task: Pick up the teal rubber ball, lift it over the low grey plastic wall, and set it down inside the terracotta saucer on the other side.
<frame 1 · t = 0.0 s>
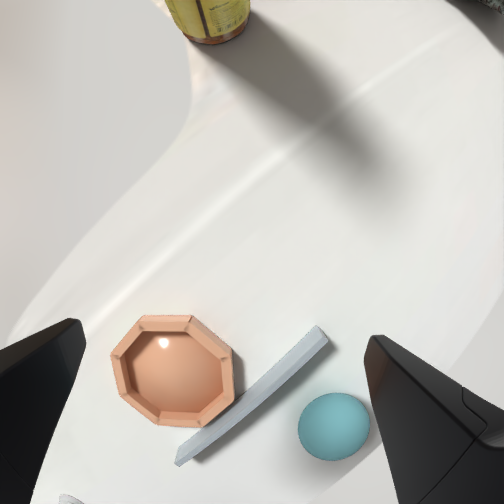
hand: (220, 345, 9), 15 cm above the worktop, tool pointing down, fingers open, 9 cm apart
low wall: (242, 398, 26), on the worktop
sauce bottle: (211, 21, 22), on the worktop
ball: (334, 427, 23), point 3 cm above the worktop
saucer: (174, 370, 26), on the worktop
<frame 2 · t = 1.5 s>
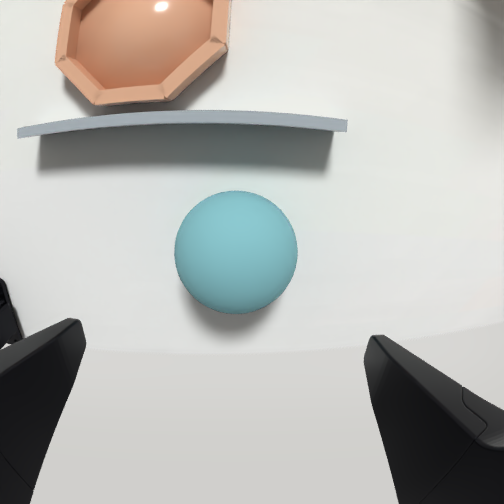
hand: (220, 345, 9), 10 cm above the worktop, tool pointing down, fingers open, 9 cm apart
low wall: (170, 118, 16), on the worktop
ball: (235, 252, 16), point 3 cm above the worktop
saucer: (143, 23, 14), on the worktop
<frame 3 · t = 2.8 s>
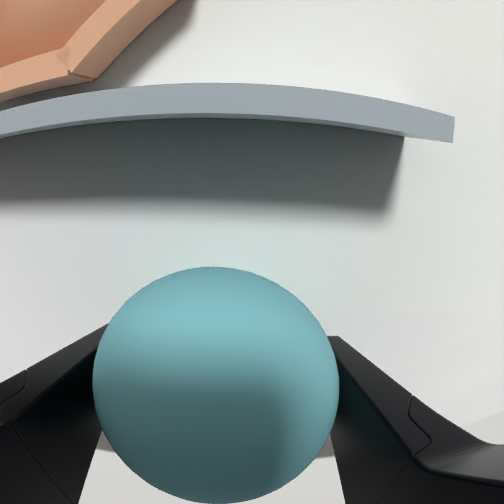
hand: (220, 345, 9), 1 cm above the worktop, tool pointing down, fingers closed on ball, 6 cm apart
low wall: (91, 113, 8), on the worktop
ball: (215, 387, 7), point 3 cm above the worktop, touching gripper
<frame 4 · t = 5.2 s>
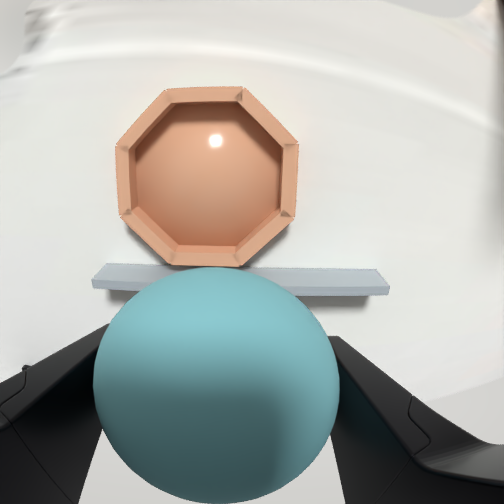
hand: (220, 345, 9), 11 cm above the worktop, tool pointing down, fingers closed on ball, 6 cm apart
low wall: (239, 271, 20), on the worktop
ball: (215, 387, 7), point 13 cm above the worktop, touching gripper
saucer: (206, 175, 18), on the worktop
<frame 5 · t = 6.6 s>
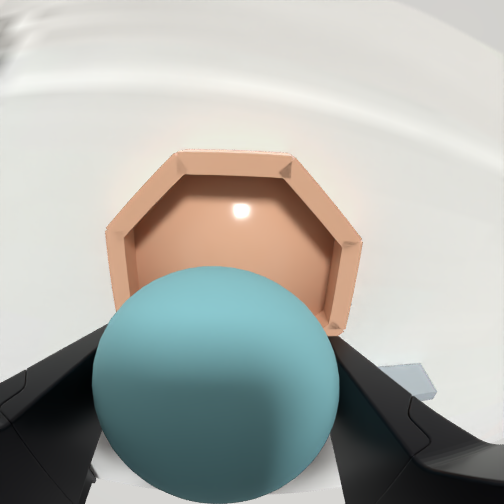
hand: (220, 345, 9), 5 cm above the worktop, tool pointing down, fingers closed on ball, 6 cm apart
low wall: (268, 373, 16), on the worktop
ball: (215, 387, 7), point 7 cm above the worktop, touching gripper
saucer: (232, 268, 14), on the worktop
when the fingers open (3 cm above the worktop, at t = 7.5 s): ball drops 1 cm, resting on saucer.
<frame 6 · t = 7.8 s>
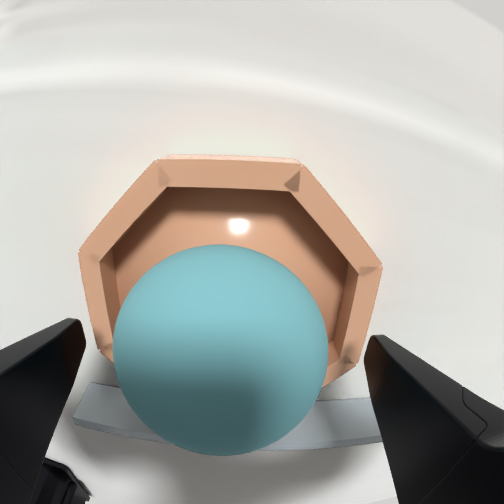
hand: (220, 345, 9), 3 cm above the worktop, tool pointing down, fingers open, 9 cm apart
low wall: (269, 405, 14), on the worktop
ball: (220, 351, 9), point 3 cm above the worktop, touching saucer
saucer: (227, 294, 12), on the worktop
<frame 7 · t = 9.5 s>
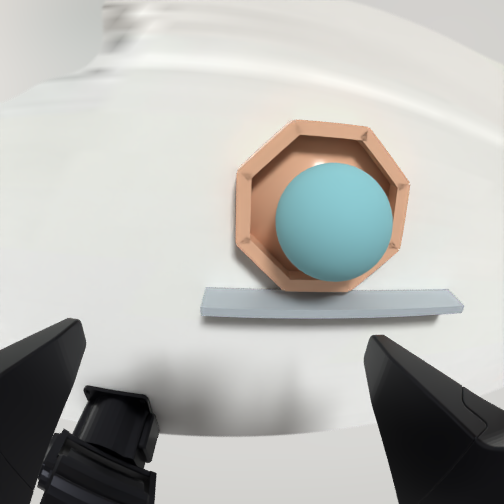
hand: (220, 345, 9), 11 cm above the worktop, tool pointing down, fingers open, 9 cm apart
low wall: (340, 294, 21), on the worktop
ball: (334, 222, 16), point 3 cm above the worktop, touching saucer
saucer: (321, 205, 19), on the worktop
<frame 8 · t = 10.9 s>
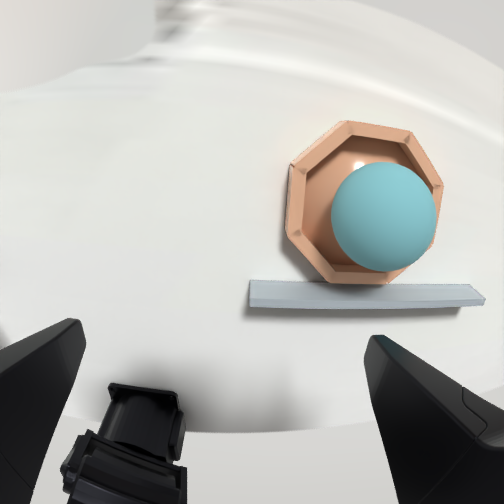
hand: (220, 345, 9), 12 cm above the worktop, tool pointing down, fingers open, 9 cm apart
low wall: (375, 287, 22), on the worktop
ball: (384, 216, 17), point 3 cm above the worktop, touching saucer
saucer: (364, 202, 20), on the worktop
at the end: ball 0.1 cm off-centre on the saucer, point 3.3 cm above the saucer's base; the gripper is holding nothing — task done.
